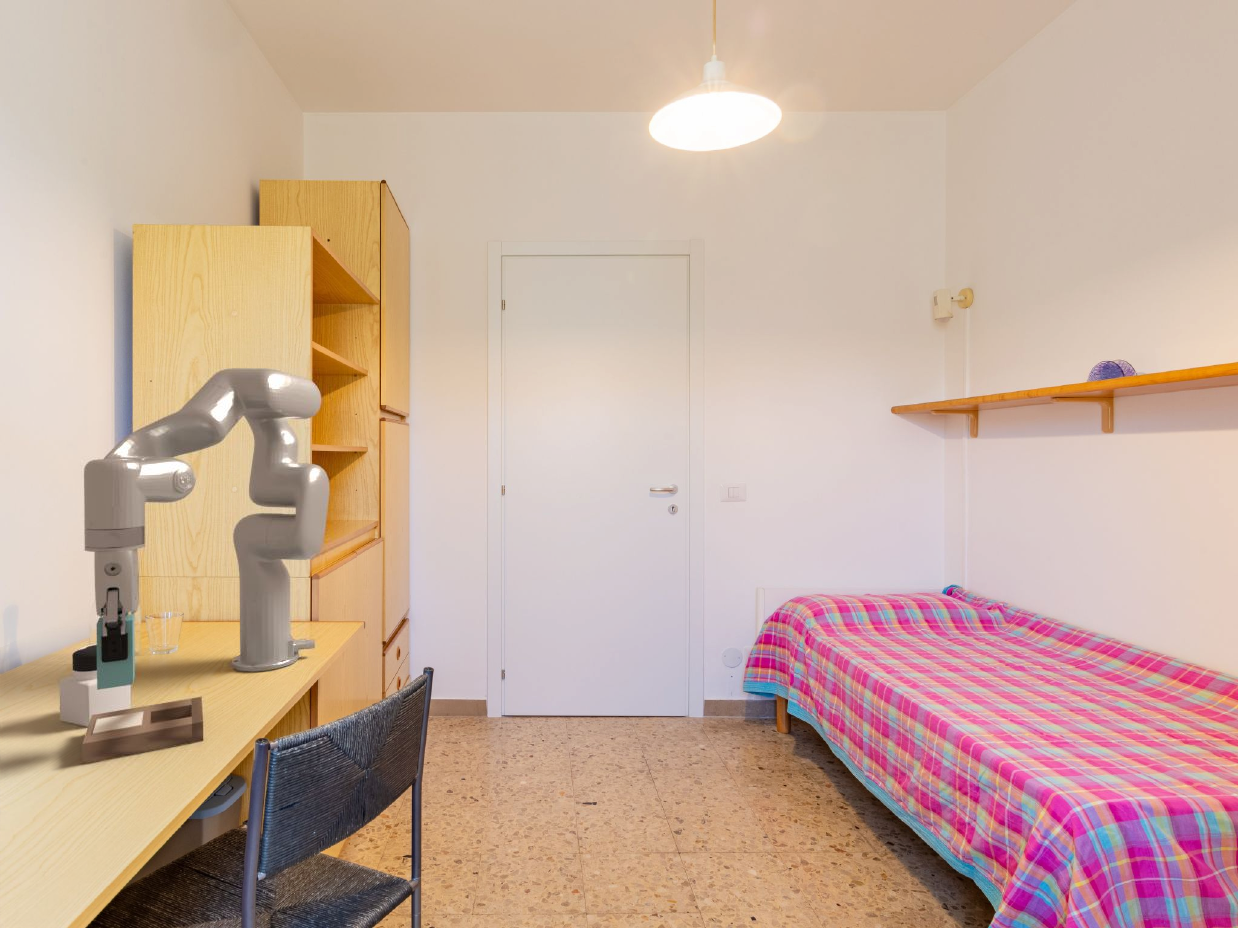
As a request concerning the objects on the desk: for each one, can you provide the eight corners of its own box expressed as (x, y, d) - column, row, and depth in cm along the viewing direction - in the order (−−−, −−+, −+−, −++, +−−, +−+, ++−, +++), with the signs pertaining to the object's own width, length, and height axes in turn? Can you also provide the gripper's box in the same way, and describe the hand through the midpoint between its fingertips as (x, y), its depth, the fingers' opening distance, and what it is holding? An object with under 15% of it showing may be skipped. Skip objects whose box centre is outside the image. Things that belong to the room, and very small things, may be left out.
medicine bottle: (132, 711, 118) (131, 643, 117) (88, 727, 111) (87, 655, 110) (103, 705, 120) (102, 638, 120) (59, 721, 113) (57, 650, 113)
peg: (134, 676, 108) (134, 613, 108) (133, 684, 105) (132, 620, 104) (100, 680, 106) (99, 617, 106) (97, 689, 102) (96, 623, 102)
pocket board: (201, 713, 117) (201, 695, 117) (203, 740, 107) (203, 720, 107) (92, 733, 109) (91, 713, 109) (82, 764, 99) (82, 742, 99)
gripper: (142, 544, 100) (143, 667, 100) (147, 531, 114) (148, 639, 114) (77, 548, 95) (78, 676, 96) (91, 533, 110) (92, 645, 110)
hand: (116, 654), depth 105 cm, fingers closed on peg, 4 cm apart
